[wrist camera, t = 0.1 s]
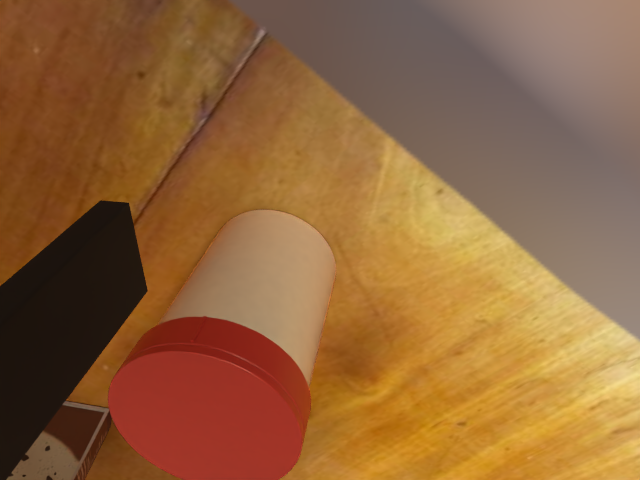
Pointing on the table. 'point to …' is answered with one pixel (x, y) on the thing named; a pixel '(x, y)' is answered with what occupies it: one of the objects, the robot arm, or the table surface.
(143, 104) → the table surface
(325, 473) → the table surface
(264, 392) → the jar lid
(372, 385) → the table surface
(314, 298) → the jar
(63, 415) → the food container
